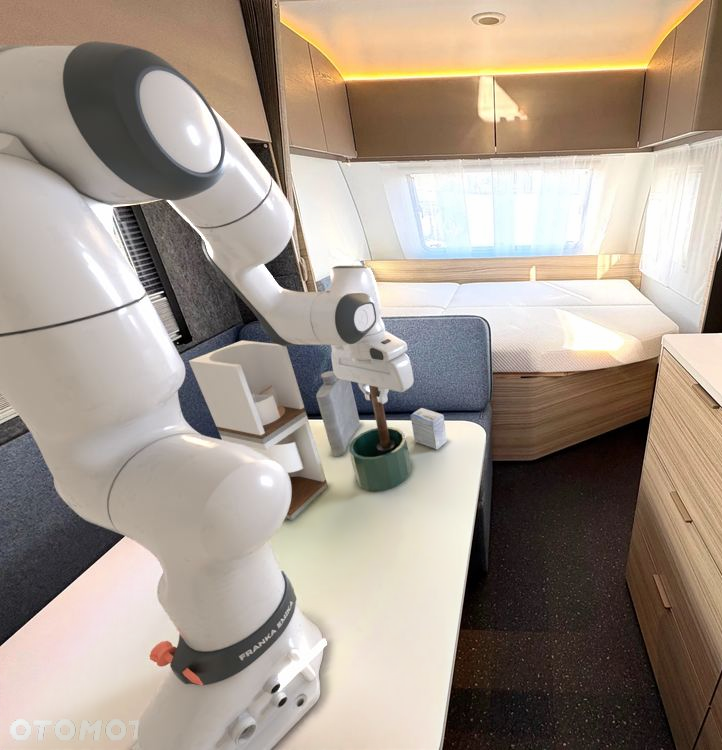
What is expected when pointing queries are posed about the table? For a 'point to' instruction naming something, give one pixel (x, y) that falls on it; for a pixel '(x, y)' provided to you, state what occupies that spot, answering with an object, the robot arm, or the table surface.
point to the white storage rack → (263, 411)
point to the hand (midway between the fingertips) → (377, 400)
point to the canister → (379, 460)
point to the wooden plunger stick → (381, 424)
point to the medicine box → (429, 428)
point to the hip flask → (337, 411)
